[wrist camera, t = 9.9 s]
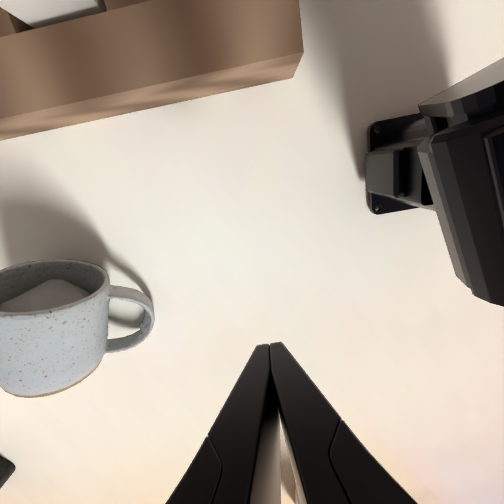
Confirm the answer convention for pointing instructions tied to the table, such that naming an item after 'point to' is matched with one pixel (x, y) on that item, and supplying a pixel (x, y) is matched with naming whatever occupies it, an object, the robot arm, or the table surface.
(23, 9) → the middle button
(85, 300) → the ceramic mug
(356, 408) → the table surface
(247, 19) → the button board
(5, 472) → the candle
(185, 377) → the table surface
